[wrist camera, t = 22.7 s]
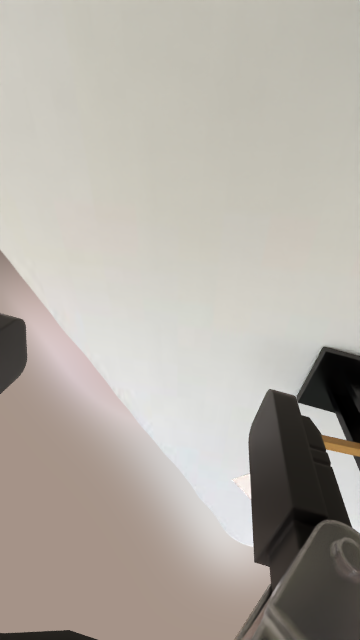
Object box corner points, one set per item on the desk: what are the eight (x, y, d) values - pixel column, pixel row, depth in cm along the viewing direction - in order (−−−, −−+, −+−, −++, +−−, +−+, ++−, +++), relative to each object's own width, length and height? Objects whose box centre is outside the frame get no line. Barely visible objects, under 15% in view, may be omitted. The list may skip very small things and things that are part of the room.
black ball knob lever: (268, 429, 35) (274, 455, 32) (279, 408, 34) (287, 433, 31) (382, 455, 36) (399, 483, 33) (398, 435, 34) (418, 462, 31)
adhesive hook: (262, 480, 57) (263, 495, 54) (269, 488, 58) (271, 503, 55) (248, 484, 58) (249, 499, 56) (255, 492, 59) (256, 507, 56)
